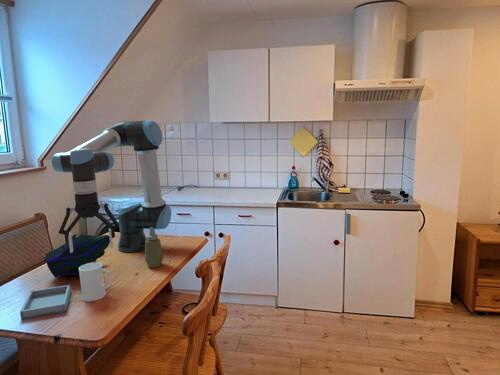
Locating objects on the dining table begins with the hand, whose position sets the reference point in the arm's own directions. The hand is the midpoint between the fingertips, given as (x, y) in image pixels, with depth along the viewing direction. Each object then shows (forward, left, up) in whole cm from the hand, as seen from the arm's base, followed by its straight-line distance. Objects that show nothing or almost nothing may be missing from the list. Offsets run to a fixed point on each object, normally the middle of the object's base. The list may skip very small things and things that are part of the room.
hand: (92, 248), depth 138 cm
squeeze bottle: (-23, -22, -19) cm, 37 cm away
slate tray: (+17, 0, -19) cm, 25 cm away
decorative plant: (+6, -25, -19) cm, 32 cm away
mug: (0, 0, -19) cm, 19 cm away
